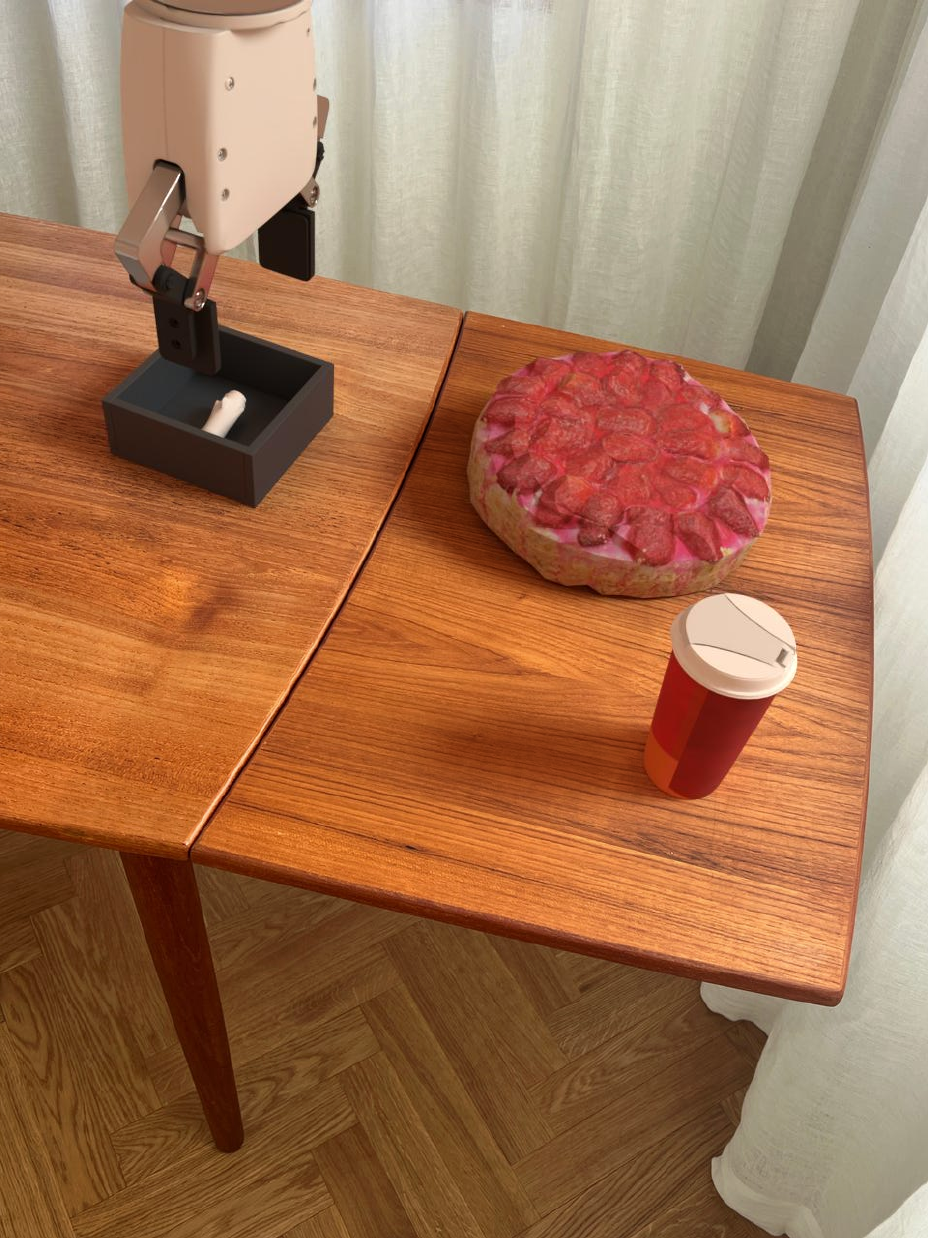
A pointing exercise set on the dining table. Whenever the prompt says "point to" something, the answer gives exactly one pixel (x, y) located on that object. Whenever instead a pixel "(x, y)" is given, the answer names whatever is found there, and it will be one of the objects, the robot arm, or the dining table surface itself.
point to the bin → (184, 398)
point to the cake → (619, 474)
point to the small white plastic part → (225, 413)
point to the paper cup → (716, 690)
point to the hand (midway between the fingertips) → (241, 316)
